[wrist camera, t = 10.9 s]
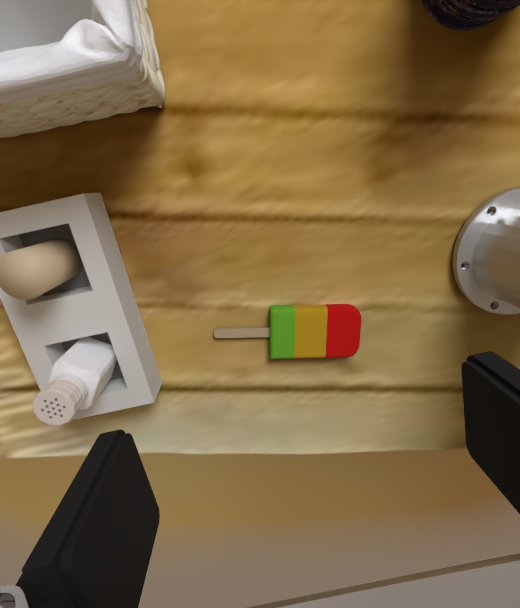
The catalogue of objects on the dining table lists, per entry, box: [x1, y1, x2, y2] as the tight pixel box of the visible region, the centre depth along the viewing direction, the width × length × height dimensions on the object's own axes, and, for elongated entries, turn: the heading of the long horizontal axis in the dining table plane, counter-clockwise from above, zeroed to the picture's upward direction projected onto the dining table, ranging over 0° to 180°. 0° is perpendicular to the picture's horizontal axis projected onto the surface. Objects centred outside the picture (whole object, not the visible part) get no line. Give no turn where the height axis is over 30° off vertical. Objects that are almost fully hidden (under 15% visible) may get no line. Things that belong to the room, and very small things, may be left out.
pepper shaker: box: [33, 337, 117, 426], centre depth 34 cm, size 4×4×10 cm
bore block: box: [0, 193, 162, 421], centre depth 34 cm, size 10×20×8 cm, turn 12°
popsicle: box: [214, 304, 361, 359], centre depth 40 cm, size 6×15×2 cm, turn 90°
